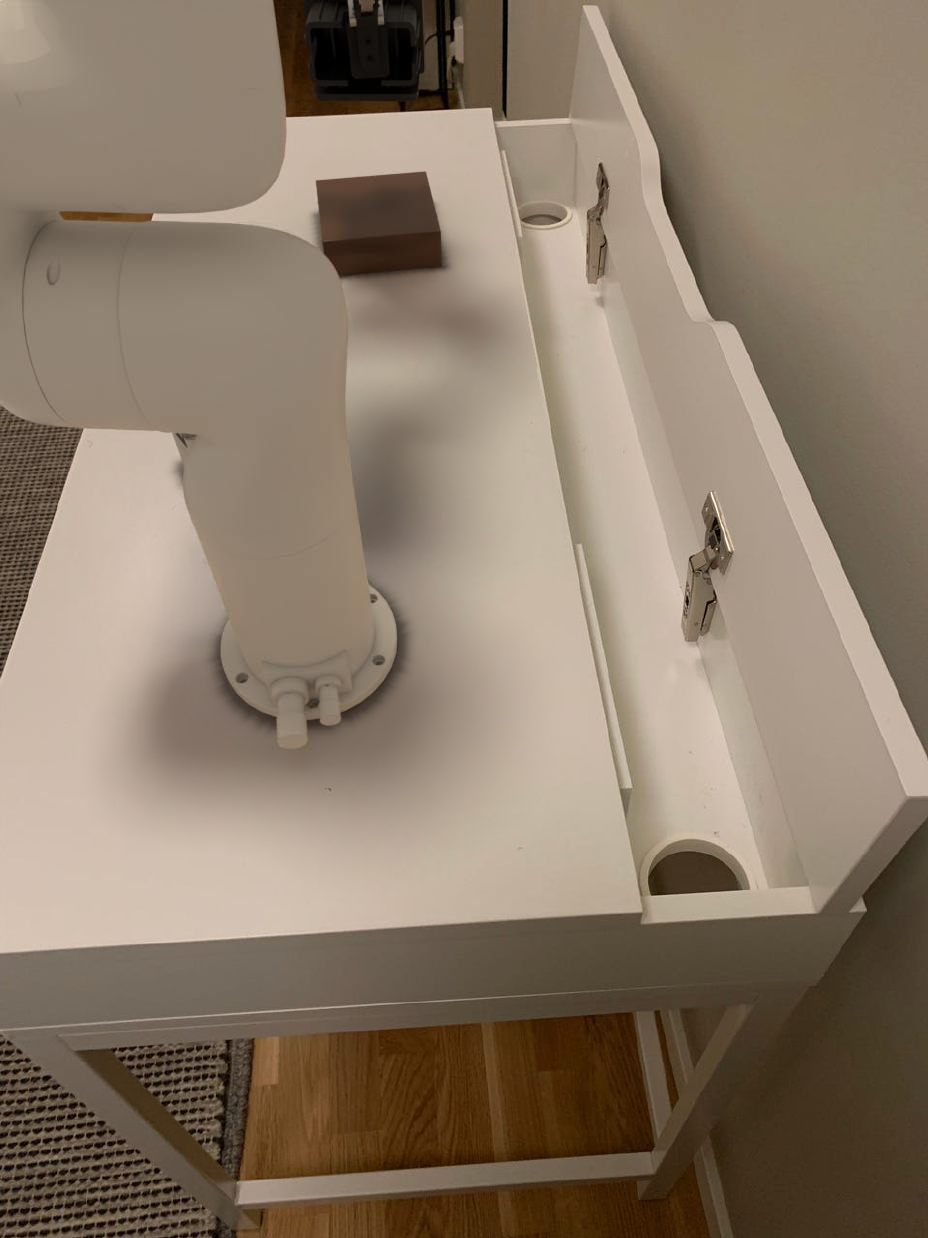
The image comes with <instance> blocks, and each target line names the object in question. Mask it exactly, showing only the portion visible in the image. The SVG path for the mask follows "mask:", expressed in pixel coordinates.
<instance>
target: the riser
mask: <svg viewBox="0 0 928 1238" xmlns="http://www.w3.org/2000/svg"><path fill="white" fill-rule="evenodd" d="M315 189H316V197H317V207H318V216H319V225H320V235H321V236H320V237H321V243H322V250H323V251H322V252H323V254H324V255H325V256H326V257H327V258H328V259H329V260H330V262H331V263H332V265H333V266H334V268H335V270H336V271H337V273H338V276H339V277H343V276H344V277H345V276H354V275H366V274H374V273H375V274H376V273H377V274H378V273H387V272H398V271H408V270H420V269H431V268H440V267H441V268H442V267H443V260H442V259H443V257H442V253H443V252H442V230H441V226H440V221H439V217H438V213H437V210H436V206H435V202H434V198H433V193H432V191H431V190H432V189H431V187H430V181H429V178H428V174H427V171H413V172H412V171H411V172H402V173H401V172H400V173H399V172H398V173H389V174H388V173H387V174H376V175H375V174H374V175H365V176H364V175H363V176H352V177H341V178H340V177H339V178H327V179H316V180H315Z"/></svg>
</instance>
